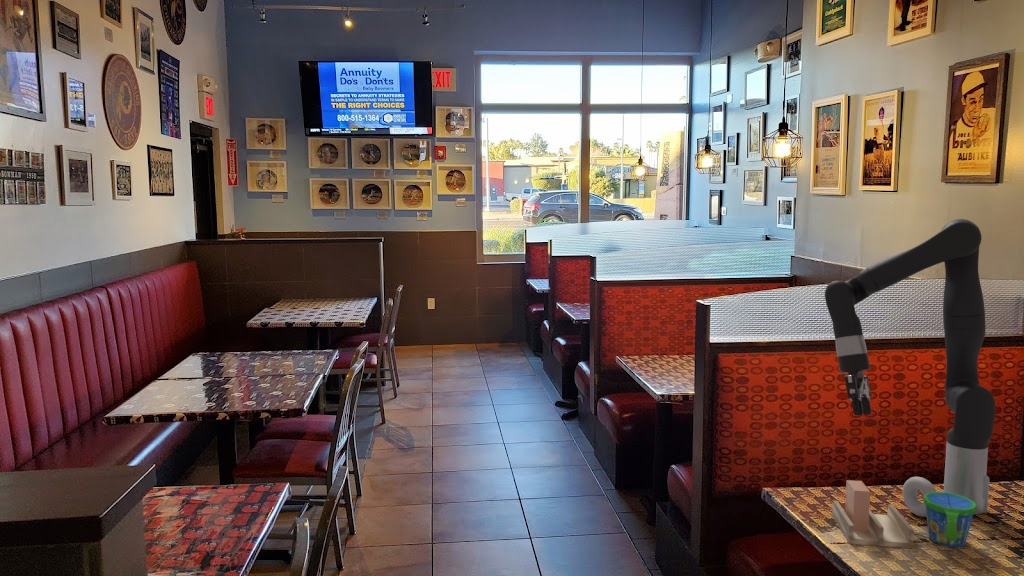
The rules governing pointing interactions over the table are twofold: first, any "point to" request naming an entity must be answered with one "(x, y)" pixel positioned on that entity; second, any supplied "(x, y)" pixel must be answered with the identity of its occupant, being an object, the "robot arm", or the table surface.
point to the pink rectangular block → (857, 504)
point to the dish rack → (876, 528)
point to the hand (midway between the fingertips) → (863, 414)
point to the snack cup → (948, 518)
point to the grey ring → (911, 494)
